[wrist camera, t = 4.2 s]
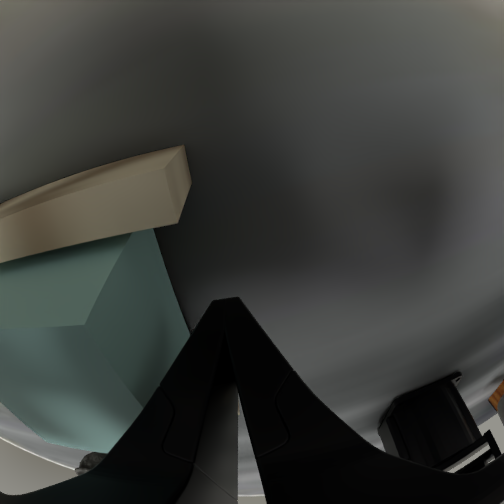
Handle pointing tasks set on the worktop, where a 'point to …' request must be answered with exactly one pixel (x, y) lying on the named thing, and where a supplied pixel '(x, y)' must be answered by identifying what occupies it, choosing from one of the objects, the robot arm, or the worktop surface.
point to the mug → (498, 401)
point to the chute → (97, 204)
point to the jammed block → (87, 337)
